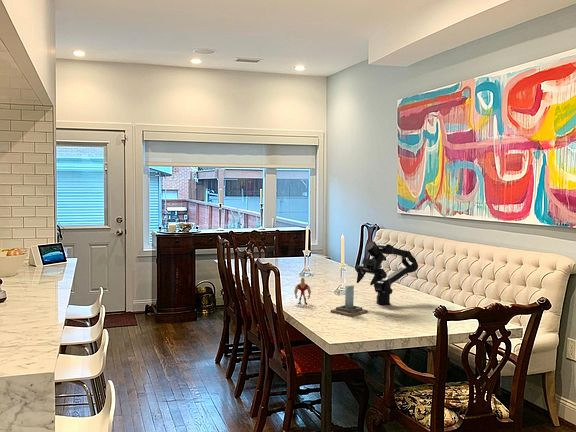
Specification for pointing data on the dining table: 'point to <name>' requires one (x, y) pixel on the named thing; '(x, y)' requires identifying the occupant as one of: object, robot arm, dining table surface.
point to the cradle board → (349, 311)
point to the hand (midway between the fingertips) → (363, 283)
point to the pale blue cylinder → (349, 296)
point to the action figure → (302, 290)
